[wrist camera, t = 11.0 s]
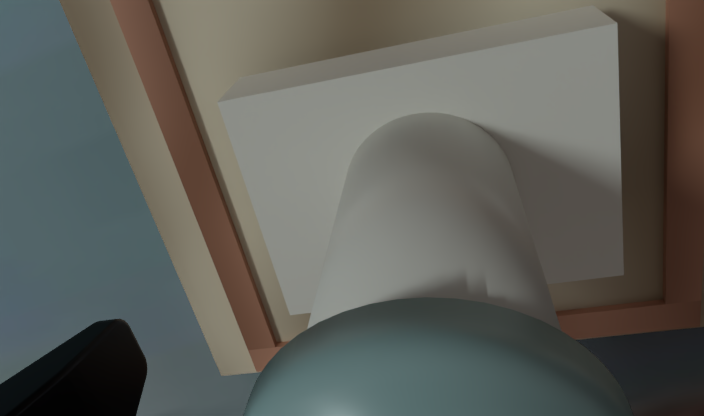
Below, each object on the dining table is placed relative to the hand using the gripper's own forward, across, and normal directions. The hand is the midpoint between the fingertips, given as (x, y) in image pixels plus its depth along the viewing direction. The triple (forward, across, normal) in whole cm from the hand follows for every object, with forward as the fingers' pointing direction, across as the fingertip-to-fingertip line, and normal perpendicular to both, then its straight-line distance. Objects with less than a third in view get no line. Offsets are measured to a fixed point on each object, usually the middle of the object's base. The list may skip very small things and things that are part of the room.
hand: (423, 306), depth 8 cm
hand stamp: (+6, 0, 0) cm, 6 cm away
